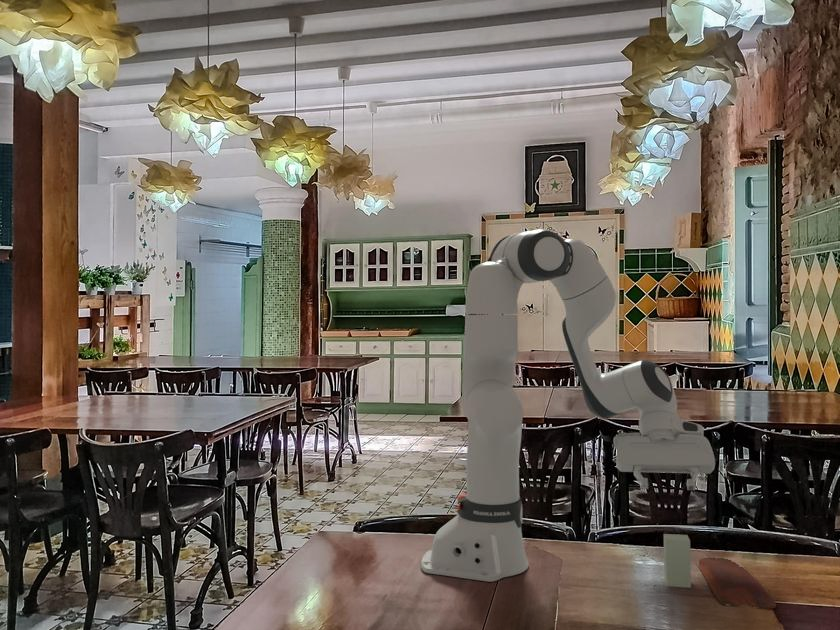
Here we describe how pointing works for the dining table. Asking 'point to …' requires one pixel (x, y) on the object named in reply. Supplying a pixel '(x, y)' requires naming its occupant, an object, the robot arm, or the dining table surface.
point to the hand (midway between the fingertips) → (667, 488)
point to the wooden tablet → (734, 584)
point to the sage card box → (677, 560)
